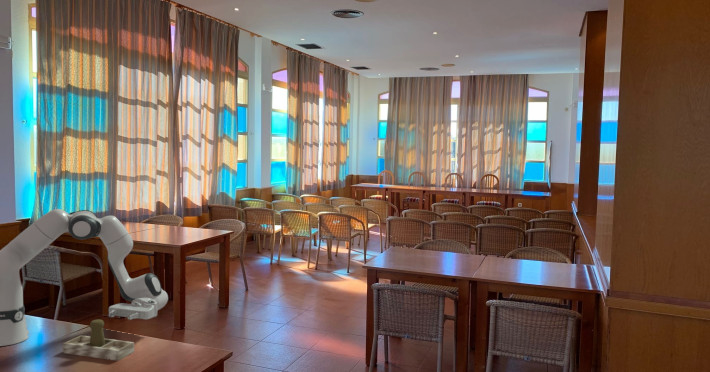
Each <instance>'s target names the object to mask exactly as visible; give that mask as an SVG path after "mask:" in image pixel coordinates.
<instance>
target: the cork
mask: <svg viewBox="0 0 710 372" xmlns="http://www.w3.org/2000/svg"><path fill="white" fill-rule="evenodd" d="M104 326H105V321H104V320H103V319H99V318H98V319H93V320H91V321H90V323H89V328H90V329H91V331H90V344H89V346H94V347H101V346H103V345H105V339H106V338H105V334H104V333H105V332H104ZM104 338H105V339H104Z"/></svg>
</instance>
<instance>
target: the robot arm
mask: <svg viewBox="0 0 710 372" xmlns="http://www.w3.org/2000/svg"><path fill="white" fill-rule="evenodd" d="M64 233H69V234H70V236H71V237H72V238H74V239H76V240H81V241H82V240H87V239H92V238H96V237H99V238H100V240H101V241H102V243H103V245H104V246H105V247H106V250H107V257H106V259H107V263H108V265H109V268H110V271H111V272H112V274H113V276H114V279H115V280H116V283H117V285H118V289H119V293H120V296H121V297H122V299H124V300H125V301H127V302H131V303H124V302H121V303H120V302H119V303H116V304H113V305H110V306H109V307H108V317H109V318H114V317H116V316H117V317H125V318H127V320H129V321H130V320H133V319H134V320H135V319H139V320H140V319H141V320H149V319H152V318H155V317H157V316H158V311H159V310H161V309H163V308H164V307H165V306H166V305H167V304H168V301H169V295H168V293H167V292H166V290H163V288H162V284H161V281H160V279H159V277H158V276H157V275H155V273H151V272H148V273H145V274H142V275H140V276H138V277H134V278H131V277H130V276H129V273H128V271H127V269H126V267H125V264H124V260H125V258H126V257H127V256H128V255H129V254H130V252H132V251H133V247H134V241H133V238H132V236H131V234H130V233H129V232H128V230H127V228H126V227H125V226H124V224H123V223H122V222H121V221H120V220H119V218H118V217H116V216H115V215H106V216H103V217H100V218H98V217H97V215H96V213H94V212H93V211H91V210H88V209H81V210H77V211H73V212H69V213H68V212H67V211H65V210H63V209H60V208H55V209H52V210H50V211H48V212H47V213H45V214H43V215H42V216H40V217H39V218H38V219H36V220H35V221H33V223H31V224H30V225H29V226H27V228H25V229H23V231H21V232H20V233H19V234H18V235H17V236H16V237H14V238H13V239H12V240H11V241H9V243H8V244H7V245H5V246H4V247H2V248H1V249H0V347H4V346H6V347H7V346H10V345H16V344H18V343H21V342H23V341H26V340H28V339H29V334H30V331H29V330H28V327H27V326H28V325H27V321H26V320H27V319H26V316H25V310H26V309H25V305H24V291H23V289H24V287H23V286H22V281H21V277H20V270H21V269H22V268H23V267H24V266H25V265H27V264H28V263H29V262H31V261H32V259H34V258H35V257H36V256H38V255H39V254H40V253H42V252H43V250H45V249H46V248H47V247H49V246H50V245H51V244H52V243H53V242H54V241H55V240H57V239H58V238H59V237H60V236H61V235H63V234H64Z"/></svg>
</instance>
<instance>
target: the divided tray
mask: <svg viewBox="0 0 710 372" xmlns="http://www.w3.org/2000/svg"><path fill="white" fill-rule="evenodd" d="M90 336H91V335H90ZM90 336H89V335H88V336H87V335H79V336H77V337H74V338H72V339H70V340H68V341H65V342H63V343H62V346H63V347H62V350H63V351H62V352H63V354H68V355H73V356H74V355H77V356H82V357H88V358H89V357H90V358H97V359H102V360H103V359H104V360H109V359H110V361H121V360H122V359H124V358H126V357H128V356H130V355H132V354H134V353H135V342H134V341H126V340H120V339H119V340H118V339H113V338H112V339H110V338H105V337H104V339H105V345H103V346H101V347H94V346H89V344H90ZM129 354H130V355H129Z"/></svg>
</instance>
